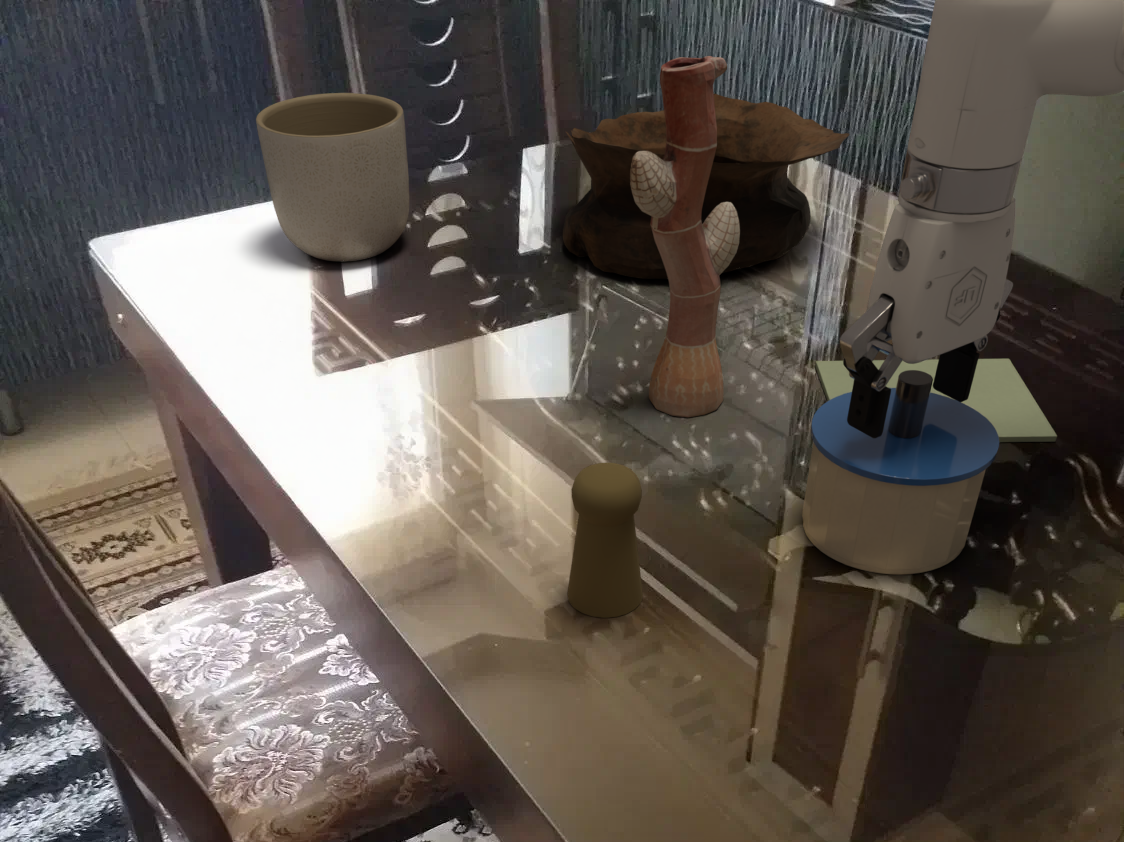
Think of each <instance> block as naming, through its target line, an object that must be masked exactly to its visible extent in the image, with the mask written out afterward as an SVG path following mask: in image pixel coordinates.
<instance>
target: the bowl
mask: <svg viewBox="0 0 1124 842" xmlns="http://www.w3.org/2000/svg"><path fill="white" fill-rule="evenodd" d="M714 104H715V115H716V126H717V148H716V152H715V156H714V160H713V164H712V168H711V172H710V176H709V180H708V184H707V188H706V192H705V197H704V201H703V206H702V212H701V221H702V224H703V223H704V221H705V220H706V218H707V217H708V216H709V214H710V213H711V212H712V211H713V210H714V209H715V207H717V206H718V205H719V204H720V203H723V202H731V203H732V204H733V206H734V207H735V209H736V211H737V215H738V219H739V225H740V238H739V245H738V249H737V252H736V254H735V256H734V257H733V259H732V261H731V262H730V264H729V266H728V267H727V268H726V269H725V270H724V271H723V272H722V273H721V274H723V273H728V272H732V271H736V270H739V269H745V268H750V267H753V266H756V265H758V264H761V263H765V262H768V261H774V260H777V259H780V258H782V257H783V256H785V254H787V253H789V252H790V251H791V250H793V249H794V248H796V247H797V246H799V244H801V242H802V241H803V239H804V238H805V237H806V234H807V233H808V231H809V229H810V225H811V218H812V217H811V207H810V202H809V199H808V198H807V195H806V193H804V192H802V191H801V190H800V189H799V188H798V187H797V186H795V185H794V184H793V183H792V181H791V180H790V178H789V176H788V172H789V166H790V165H795V164H798V163H801V162H804V161H807V160H809V159H813V158H817V157H820V156H822V155H825V154H828V153H830V152H832V151H835V150H837V149H840V148H841V146H842V143H843V142H844V141H845V140H846V139H847V138H848V137H849V136H850V135H851V134H850V132H847V133H846V132H845V133H838V132H834V130H833V129H831V128H827V127H825V126H823V125H821V124H819V123H818V122H817V121H816V120H815V119H812V118H803V116H801V115H799V114H798V113H796V112H795V111H794V110H792V109H791V108H789V107H787V106H781V105H778V104H777V103H774V102H770V101H762V102H751V101H748V100H744V99H739V98H732V97H728V96H724V95H720V94H718V93H714ZM570 132H571V135H570V133H569V132H568V131H565V133H566V135H567V137H568V138H569V140H570V142H571V143H572V145H573V148H574V150H575V152H576V154H577V155H578V158H579V159H580V161H581V162H582V164H583V166H584V168H585V170H586V172H587V174H588V176H589V178H590V188H589V190H588V191H587V192H586V193H585V195H584V196H583V197H582V198H581V199H580V200H579V202H578V203H577V204H576V205H574V206H573V207H572V208H571V209H569V211H568V212H567V213H566V215H565V218H564V223H563V227H562V240H563V244H564V246H565V248H566V249H567V250H568V252H569V253H572V254H573V255H574V256H576V257H578V258H585V257H588V259H589V260H590V262H592V264H593V266H594V267H596V268H597V269H599V270H601V271H602V272H607V273H612V274H613V273H614V274H616V275H619V276H626V277H629V278H635V279H636V278H637V279H642V280H668V276H667V273H666V269H665V266H664V263H663V260H662V257H661V255H660V252H659V250H658V247H657V245H656V242H655V239H654V235H653V232H652V228H651V224H650V223H651V216H650V215H648V214H646V213H645V212H643V211H641V209H640V208H639V207H638V205H637V204H636V203H635V200H634V197H633V194H632V190H631V185H630V170H631V163H632V159H633V156H634V155H635V154H636V153H637V152H638V151H649V152H652V153H654V154H655V155H657V156H658V157H659V158H661V159H663V157H664V155H665V148H666V121H665V114H664V109H663V110H659V111H658V110H657V111H654V112H651V111H641V112H640V111H637V112H631V113H627V114H622V115H620V116H618V117H617V118H605V119H601V121H600V123H599V124H598V126H597V127H596V129H595V131H591V132H588V131H585V130H583V129H579V128H577V127H573V129H572V130H570Z"/></svg>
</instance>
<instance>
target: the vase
mask: <svg viewBox="0 0 1124 842" xmlns="http://www.w3.org/2000/svg"><path fill="white" fill-rule="evenodd" d="M727 70H728V64H727V61H726V60H725V58H723V57H720V56H718V57H717V56H716V57H714V56H712V55H705V56H703V57H676V58H673V59H670V60H668V61H666V62H665V63H663V64H662V65H661V67H660V73H659V85H660V91H661V96H662V97H661V98H662V106H663V110H664V114H665V121H666V148H665V155H664V157H663V159H661V158H659V157H658V156H657V155H655V154H654V153H652V152H649V151H638V152H637V153H636V154H635V155H634V156H633V159H632V163H631V170H630V185H631V190H632V194H633V197H634V200H635V203H636V204H637V205H638V207H639V208H640V209H641V211H643V212H645V213H646V214H648V215H650V216H651V223H650V224H651V228H652V232H653V235H654V239H655V242H656V245H657V247H658V250H659V252H660V255H661V257H662V260H663V263H664V266H665V269H666V273H667V276H668V279H667V280H668V285H669V310H668V322H667V328H666V333H665V338H664V340H663V342H662V345H661V347H660V350H659V352H658V355H657V358H656V360H655V363H654V365H653V369H652V372H651V375H650V379H649V386H648V399H649V400H650V402H651V404H652V405H653V406H654V408H655V409H656V410H657V411H659V412H662V413H664V414H666V415H668V416H671V417H679V418H680V417H681V418H692V417H693V418H694V417H700V416H705V415H707V414H711V413H713V412H715V411H716V410H718V408H719V407H720V406H721V404H722V403H723V402H724V377H723V371H722V370H723V369H722V364H721V359H720V355H719V350H718V345H717V340H716V336H717V335H716V332H717V318H718V312H719V311H718V310H719V304H720V300H721V291H722V289H721V288H722V285H721V278H720V275H721V274H723V273H722V272H723V271H724V270H725V269H726V268H727V267H728V266H729V264H730V262H731V261H732V259H733V257H734V256H735V254H736V252H737V249H738V245H739V238H740V225H739V219H738V215H737V211H736V209H735V207H734V206H733V204H732V203H731V202H723V203H720V204H719V205H718V206H717V207H715V209H714V210H713V211H712V212H711V213H710V214H709V216H708V217H707V218H706V220H705V221H704V223H703V224H702V221H701V212H702V206H703V201H704V197H705V192H706V188H707V184H708V180H709V176H710V172H711V168H712V164H713V160H714V156H715V152H716V148H717V126H716V115H715V104H714V94H715V93H714V83H715V80H716V79H717V78H719V77H721V76H722V75H723V74H724V73H726V71H727Z"/></svg>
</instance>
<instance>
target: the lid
mask: <svg viewBox="0 0 1124 842" xmlns="http://www.w3.org/2000/svg"><path fill="white" fill-rule="evenodd" d="M932 382H933V378H932V376H931V375H930V374H928V373H926V372H923V371H918V370H907V371H904V372H901V373H900V374H899V376H898V381H897V386H896V388H890V389H891V395H890V400H889V405H888V409H887V414H886V419H885V424H884V429H883V433H882V435H881V436H880V437H877V438H872V437H870V436H868V435H866V434H865V433H863V432H861V431H859V430H857V429H856V428H854V427H852V426H850V425H849V424H848V422H847V416H848V411H849V405H850V400H851V394H852V392H849V393H845V394H842V395H840V396H837V397H835V398H833V399H831V400H829V401H827V400H826V401H825V403H823V404H821V405H820V407H818V409H817V410H816V411H815V413H814V414H813V416H812V419H811V424H810V436H811V437H810V438H811V440H812V442H814V444H815V446H816V447H817V449H818V450H819V451H820V452H821V453H822V454H823V455H824V456H825V457H826V458H828V459H829V460H830V461H831V462H833V463H835V464H836V465H838V466H840V467H841V468H843V469H845V470H848V471H850V472H852V473H855V474H857V475H860V476H863V477H866V478H869V479H873V480H877V481H881V482H886V483H892V484H899V485H911V486H931V485H942V484H949V483H954V482H959V481H962V480H965V479H968V478H971V477H973V476H975V475H978V474H979V473H981V472H982V471H984V470H985V469H986V470H987V469H988V468H989V467H990V466H991V465H992V463H994V461H995V460H996V457H997V455H998V452H999V448H1000V442H999V436H998V434H997V431H996V429H995V428H994V426H993V425H992V423H991V422H990V421H989V420H988V419H987V418H986V417H984V416H983V415H982V414H981V413H979V412H978V411H976V410H975V409H973V408H971V407H970V406H968V405H966V404H964V403H961V402H959V401H957V400H954V399H952V398H949V397H946V396H943V395H939V394H935V393H931V392H930V391H931V387H932Z"/></svg>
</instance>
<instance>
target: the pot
mask: <svg viewBox="0 0 1124 842" xmlns="http://www.w3.org/2000/svg"><path fill="white" fill-rule="evenodd" d="M812 442H813V441H812ZM986 470H987V468H986V469H985V470H984V471H982V472H981V473H979V474H978V475H975V476H973V477H971V478H968V479H965V480H962V481H959V482H954V483H949V484H942V485H931V486H911V485H899V484H892V483H886V482H881V481H877V480H873V479H869V478H866V477H863V476H860V475H857V474H855V473H852V472H850V471H848V470H845V469H843V468H841V467H840V466H838V465H836V464H835V463H833V462H831V461H830V460H829V459H828V458H826V457H825V456H824V455H823V454H822V453H821V452H820V451H819V450H818V449H817V447H816V446H815V444H814V442H813V443H812V449H811V456H810V461H809V467H808V474H807V480H806V487H805V494H804V500H803V506H802V513H801V516H802V526H803V531H804V532H805V535H806V537H807V538H808V540H809V541H810V542H811V544H812V545H813V546H814V547H815V548H817V550H818V551H820V552H821V553H823V554H824V555H825V556H827V557H829V558H831V559H833V560H834V561H836V562H838V563H841V564H843V565H845V566H848V567H850V568H853V569H858V570H862V571H865V572H869V573H875V574H883V575H913V574H920V573H921V574H922V573H925V572H930V571H934V570H937V569H939V568H942V567H944V566H946V565H948V564H949V563H951V562H952V561H954V560H955V559H956V558H957V557H958V556H959V555H960V554H961V553H962V551H963V550H964V548H965V546H966V542H967V539H968V535H969V532H970V528H971V525H972V520H973V517H974V513H975V510H976V506H977V502H978V499H979V496H980V491H981V489H982V485H983V482H984V478H985V473H986Z"/></svg>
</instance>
